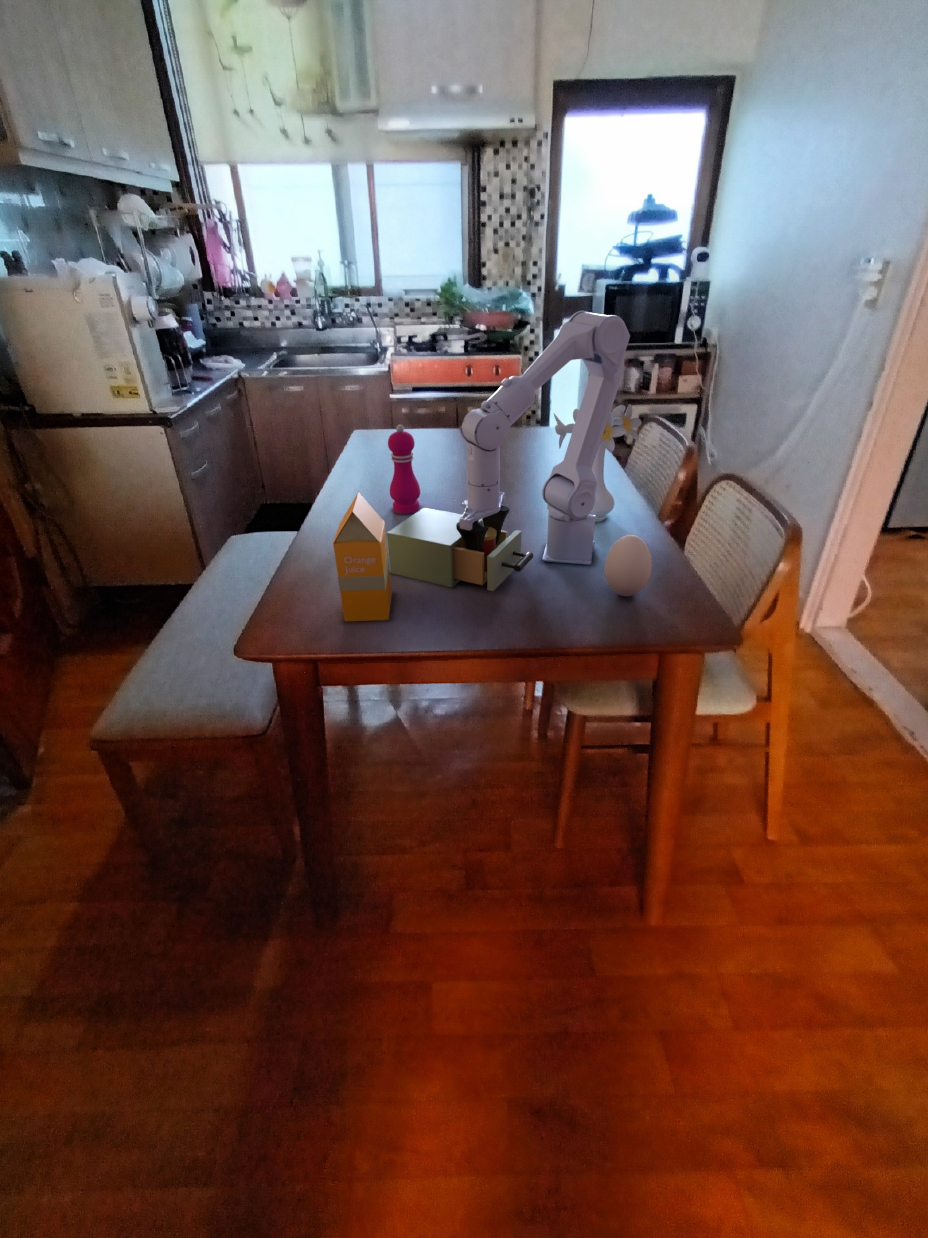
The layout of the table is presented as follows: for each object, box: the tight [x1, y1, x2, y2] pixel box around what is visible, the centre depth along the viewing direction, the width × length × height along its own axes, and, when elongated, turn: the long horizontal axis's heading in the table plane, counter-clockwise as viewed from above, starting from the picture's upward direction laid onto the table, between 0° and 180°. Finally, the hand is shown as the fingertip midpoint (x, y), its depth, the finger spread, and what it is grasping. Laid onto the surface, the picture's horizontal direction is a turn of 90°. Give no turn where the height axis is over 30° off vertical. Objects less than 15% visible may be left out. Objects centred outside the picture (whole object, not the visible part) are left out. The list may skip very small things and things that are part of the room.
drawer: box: [453, 529, 534, 592], centre depth 116 cm, size 16×12×7 cm
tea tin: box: [482, 526, 497, 572], centre depth 116 cm, size 5×5×7 cm
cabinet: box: [386, 507, 484, 588], centre depth 121 cm, size 14×14×9 cm
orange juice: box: [332, 491, 393, 622], centre depth 104 cm, size 8×9×20 cm
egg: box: [603, 534, 653, 597], centre depth 109 cm, size 8×8×11 cm
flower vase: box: [553, 404, 642, 523], centre depth 135 cm, size 13×18×25 cm
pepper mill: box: [387, 423, 421, 515], centre depth 143 cm, size 7×7×20 cm
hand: (483, 551), depth 116 cm, fingers open, 7 cm apart
